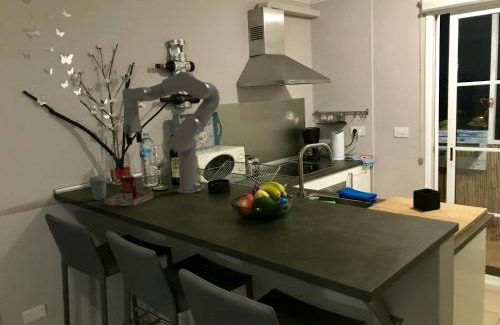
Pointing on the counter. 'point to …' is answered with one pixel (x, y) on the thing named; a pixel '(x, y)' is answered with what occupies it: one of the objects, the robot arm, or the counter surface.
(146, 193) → the tray
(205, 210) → the counter surface
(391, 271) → the counter surface
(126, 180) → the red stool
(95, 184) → the coffee cup
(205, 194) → the counter surface
